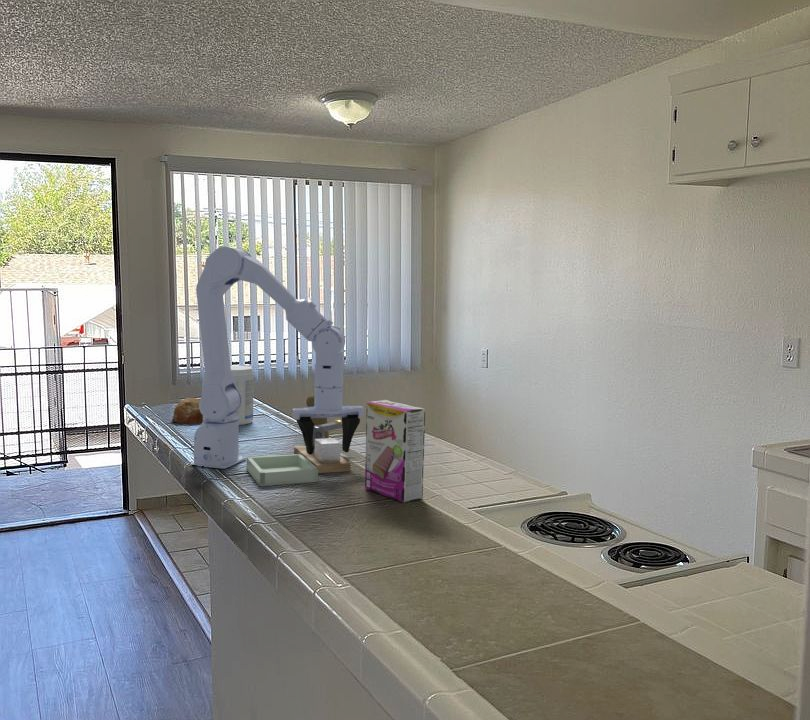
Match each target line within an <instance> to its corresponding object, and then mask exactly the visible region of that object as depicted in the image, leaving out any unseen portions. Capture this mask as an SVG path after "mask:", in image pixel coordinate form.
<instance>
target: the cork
mask: <svg viewBox="0 0 810 720" xmlns="http://www.w3.org/2000/svg"><path fill="white" fill-rule="evenodd" d="M314 396H315V393H314V394H310V395H308V396H307V397H306V402H305V404H306V406H307V407H314ZM321 415H327V414H321ZM311 420H312V422H313V423H314V426H318V425H322V424H327V423H328V417H326V418H311ZM329 434H330V433H329V431H327V432H324V439H325V438H330V435H329Z"/></svg>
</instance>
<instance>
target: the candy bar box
mask: <svg viewBox="0 0 810 720" xmlns="http://www.w3.org/2000/svg"><path fill="white" fill-rule="evenodd" d="M365 419H366V420H365V421H366V422H365V424H366V425H365V428H366V429H365V469H364V473H365V474H364V475H365V477H364V489H365V490H368V491H371V492H374V493H376V494H379V495H382V496H384V497H386V498H387V497H388V498H390V499H392V500H395V501H398V502H400V503H404V504H405V503H410V502H414V501H417V500H422V499H423V497H424V495H423V494H424V493H423V492H424V463H425V462H424V461H425V458H424V457H425V433H426V432H425V431H426V408H423V407H419V406H415V405H410V404H404V403H402V402H401V403H400V402H396V401H393V400H388V399H380V400H378V399H377V400H369V401H366V418H365Z"/></svg>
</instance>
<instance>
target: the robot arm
mask: <svg viewBox="0 0 810 720" xmlns="http://www.w3.org/2000/svg"><path fill="white" fill-rule="evenodd" d="M240 281H243V282H246V283H251V284H255V285H256V286H258V287H259V288H260V289H261V290H262V291H263V292H264V293H266V294H267V296H269V297H270V298H271V300H273V301H274V302H275V303H277V304H278V305H279V306H280V307H281V308H282V309H284V310H285V311H284V312H285V320H286V321H287V322H288V323H289V324H290V325H291V326H292V327H293V328H294V329H295V330H296V331H297V332H299V334H300V335H301V336H302V337H303V338H304V339H305V340H306V341H308V342H311V345H312V346H311V347H312V348H313V350H314V353H315V364H314V394H315V396H314V407H300V408H299V407H297V408H292V411H291V412H292V414H291V418H292V419H293V420H296V423H297V425H298V428H299V429H300V431H301V435H302V437H303V441H304V444H305V445H304V446H306V452H307V453H308V454H309V455H312V454H313V429H314V423H313V422H312V420H311V418H326V417H327V418H340V419H341V420H342V428H341V429H342V442H341V448H342V449H341V450H342V451H343V452H345V453H349V451H350V447H351V443H352V440H353V436H354V434H355V432H356V430H357V428H358V427H359V424H360V423H361V418H360V417H364V410H365V409H364V406H361V405H343V404H344V403H343V400H344V399H343V398H344V397H343V395H344V394H343V393H344V362H343V360H344V355H343V353H344V352H343V350H344V347H345V344H346V335H345V334H344V333H343V331H342V330H341V328H340V327H338V326H336V325H333V324H334V322H333V321H332V319H327V318H326V317H325V316H324V315H323V314H322V313H321V312H319V311H318V309H317V308H316V307H317V304H316V303H315V302H313V301H310V302H309V301H308V299H305V298H304V299H297V298H296V297H295V296H294V295H293V294H292V292H290V291H289V290H288V289H287V287H286V286H285V285H284V283H283V284H282V282H281V281H280V280H279V279H278V278H277V277H276V276H275V275H274V274H273V273H272V272H271V271H270V269H268V268H267V267H266V266H265V265H264V263H262V262H261V261H260V260H259V259H257V258H256V257H254V256H252V255H251V254H250V252H249V251H247V250H246V249H244V248H241V247H236V248H235V247H231V246H228V245H223V246H220V247H218V248H216V249H215V250H214V251H213V252H212V253H211V254H209V255H208V256H207V257H206V258H205V264H204V268H203V270H202V272H201V275H200V277H199V279H198V281H197V284H196V285H195V287H196V288H195V292H196V301H197V311H198V320H199V329H200V339H201V348H202V353H203V354H202V358H203V366H204V377H203V380H202V383H201V395H200V398H199V399H200V401H199V409H200V412H201V414H202V415H203V422H202V423H201V425H200V426H199V427H198V428H197V429H196V431H195V432H194V435H193V461H192V462H190V463H189V465H190V466H192V465H198V466H197V467H202V466H204V468H214V469H222V470H223V469H228V468H230V467H233V466H234V465H237V464H238V463H240V462H243V461H245V460H247V456H241V455H239V450H240V449H239V444H240V442H239V438H240V437H239V433H240V431H239V429H240V428H239V426H240V425H239V416H238V415H237V412H236V411H237V410H238V409H239V408H240V406H241V403H242V396H241V393H240V391H239V390H238V388H237V386H236V381H235V377H234V376H233V374H232V372H231V366H232V365H231V359H230V358H231V357H230V350H229V340H228V339H229V338H228V331H227V330H228V329H227V321H226V311H225V301H224V295H225V294H226V293H227V292H228V291H229V289H231V287H233V285H234V284H235V283H237V282H240ZM321 414H326V415H321Z"/></svg>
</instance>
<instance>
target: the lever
mask: <svg viewBox="0 0 810 720" xmlns="http://www.w3.org/2000/svg"><path fill="white" fill-rule="evenodd" d="M338 429H343V428H342V419H335V420H334V421H332V422H327V424H322V425H318V426H314V429H313V449H314V450H315V439H324V432H327V431H328V432H330V431H334V430H338Z"/></svg>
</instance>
